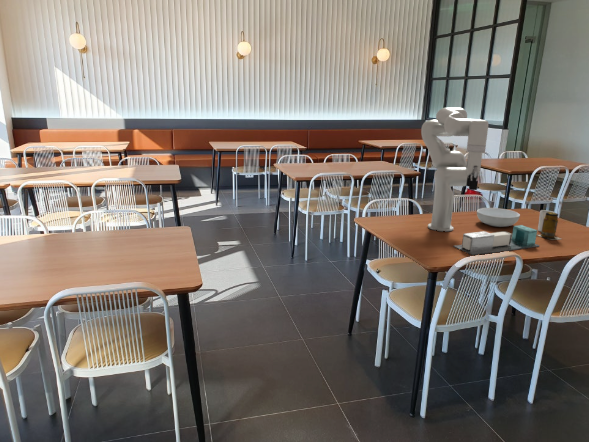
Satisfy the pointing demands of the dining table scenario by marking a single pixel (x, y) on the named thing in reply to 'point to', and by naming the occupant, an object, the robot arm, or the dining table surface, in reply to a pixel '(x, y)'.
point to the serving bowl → (497, 216)
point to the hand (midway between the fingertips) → (471, 188)
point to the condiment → (549, 226)
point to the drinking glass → (542, 218)
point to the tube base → (519, 240)
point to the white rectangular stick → (499, 240)
